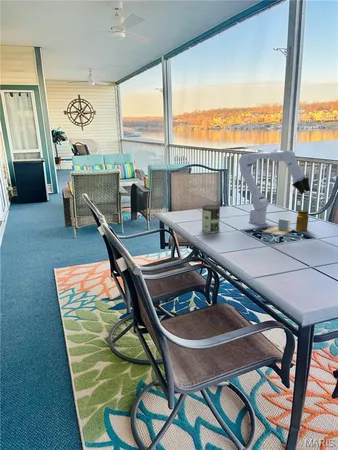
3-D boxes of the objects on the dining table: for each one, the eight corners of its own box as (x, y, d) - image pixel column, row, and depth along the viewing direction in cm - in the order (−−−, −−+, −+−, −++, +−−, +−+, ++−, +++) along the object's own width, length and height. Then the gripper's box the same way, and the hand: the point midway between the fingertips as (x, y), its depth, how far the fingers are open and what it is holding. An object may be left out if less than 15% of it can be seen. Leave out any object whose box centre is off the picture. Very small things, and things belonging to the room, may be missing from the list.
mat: (262, 232, 184) (262, 231, 184) (273, 226, 194) (273, 225, 194) (282, 236, 176) (282, 235, 176) (292, 230, 186) (293, 229, 186)
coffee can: (219, 228, 193) (220, 205, 189) (218, 233, 183) (219, 209, 179) (202, 227, 195) (203, 204, 191) (200, 232, 185) (201, 208, 181)
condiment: (292, 229, 187) (294, 210, 184) (305, 228, 189) (307, 209, 186) (299, 233, 181) (301, 213, 177) (313, 232, 182) (315, 212, 179)
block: (277, 228, 188) (278, 218, 186) (278, 227, 189) (279, 218, 187) (287, 230, 184) (288, 220, 182) (288, 229, 185) (289, 219, 184)
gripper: (296, 168, 172) (307, 191, 171) (306, 165, 182) (317, 187, 181) (285, 174, 177) (295, 196, 176) (295, 171, 187) (305, 192, 186)
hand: (305, 192), depth 178 cm, fingers open, 7 cm apart
